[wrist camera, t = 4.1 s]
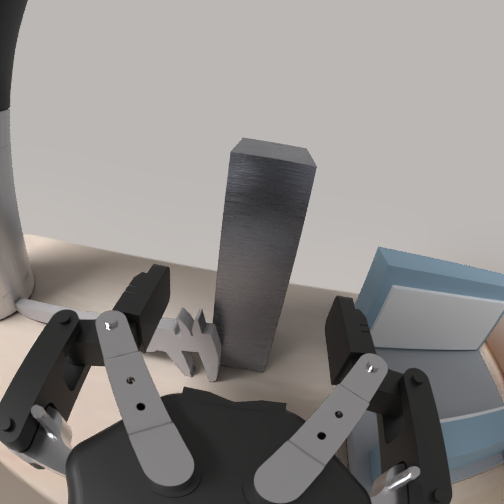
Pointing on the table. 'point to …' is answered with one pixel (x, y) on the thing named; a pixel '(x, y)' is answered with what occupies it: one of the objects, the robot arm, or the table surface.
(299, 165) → the steel block
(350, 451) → the vise base
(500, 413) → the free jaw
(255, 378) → the table surface
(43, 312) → the caliper
